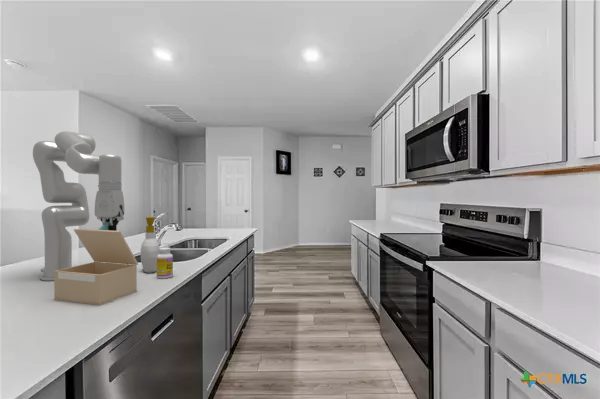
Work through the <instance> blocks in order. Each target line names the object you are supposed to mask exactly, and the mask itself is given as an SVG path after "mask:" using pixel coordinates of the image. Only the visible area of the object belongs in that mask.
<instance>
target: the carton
mask: <svg viewBox="0 0 600 399" xmlns="http://www.w3.org/2000/svg"><path fill="white" fill-rule="evenodd" d="M137 270H138V268H137V265H132V264H119V263H106V262H94V261H93V262H89V263H88V262H87V263H84V264H80V265H75V266H72V267H70V268H65V269H61V270H57V271H54V280H53V282H54V283H53V285H54V286H53V287H54V288H53V289H54V295H53V296H54V301H61V302H62V301H63V302H72V303H79V304H80V303H81V304H86V305H87V304H89V305H95V306H96V305H97V306H102V305H104V304H107V303H110V302H113V301H114V300H115V301H116V300H117V299H120V298H123V297H126V296H129V295H130V294H133V293H136V292H138V291H137V289H138V288H137V284H138V283H137V282H138V281H137V280H138V278H137V272H138V271H137Z"/></svg>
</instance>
